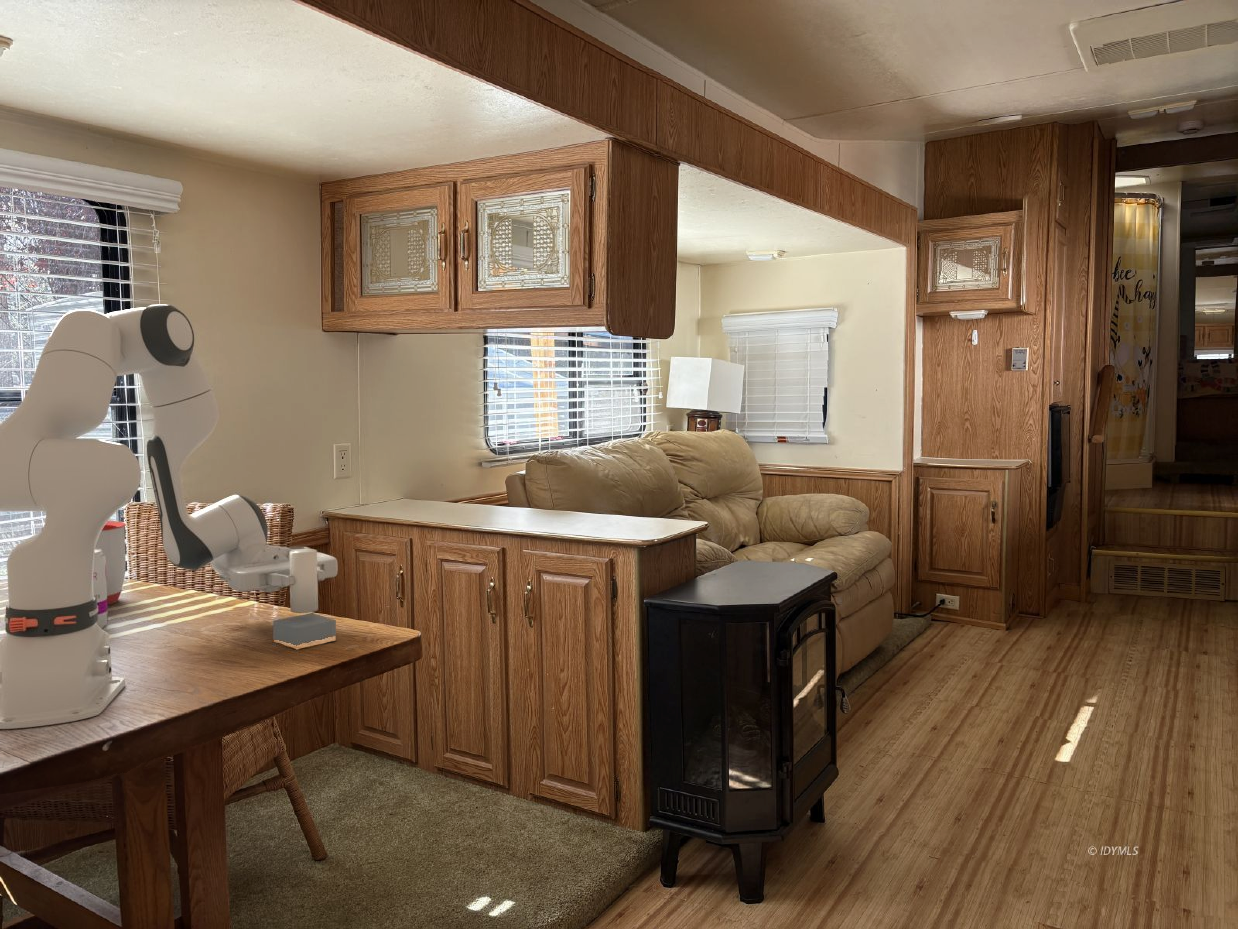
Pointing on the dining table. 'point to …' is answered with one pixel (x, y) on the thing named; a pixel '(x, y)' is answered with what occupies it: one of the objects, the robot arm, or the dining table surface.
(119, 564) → the citrus juicer
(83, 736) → the dining table surface
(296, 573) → the white pillar candle
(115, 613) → the dining table surface
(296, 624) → the plinth
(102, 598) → the supplement can
